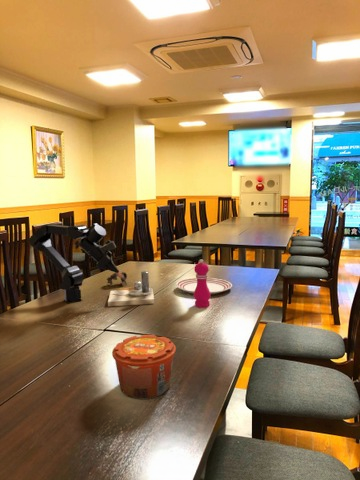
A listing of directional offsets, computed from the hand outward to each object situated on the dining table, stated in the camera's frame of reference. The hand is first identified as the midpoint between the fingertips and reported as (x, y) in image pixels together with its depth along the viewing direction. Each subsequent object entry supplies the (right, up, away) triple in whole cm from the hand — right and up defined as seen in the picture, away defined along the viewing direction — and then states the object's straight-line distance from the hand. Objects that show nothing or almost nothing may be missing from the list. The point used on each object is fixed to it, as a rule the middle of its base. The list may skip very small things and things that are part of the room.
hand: (118, 272), depth 165 cm
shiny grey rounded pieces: (+8, -10, +5) cm, 14 cm away
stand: (+5, -13, +5) cm, 15 cm away
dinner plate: (+39, -11, +18) cm, 44 cm away
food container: (+19, -23, -70) cm, 76 cm away
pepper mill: (+37, -14, -7) cm, 40 cm away
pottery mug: (-5, -10, +31) cm, 33 cm away
